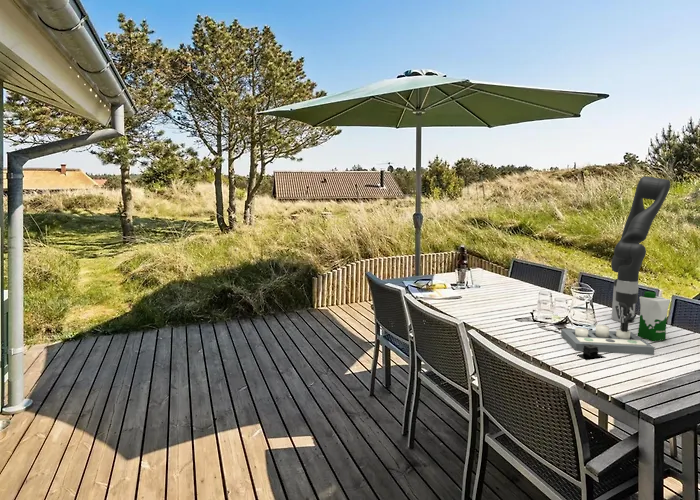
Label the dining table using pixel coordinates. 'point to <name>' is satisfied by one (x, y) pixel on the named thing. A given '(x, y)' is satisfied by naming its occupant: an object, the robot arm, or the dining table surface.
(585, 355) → the black boxy piece
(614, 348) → the button board
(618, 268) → the robot arm
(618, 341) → the strip
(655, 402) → the dining table surface
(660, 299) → the milk carton
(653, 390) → the dining table surface
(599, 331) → the button
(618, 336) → the button
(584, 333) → the button
